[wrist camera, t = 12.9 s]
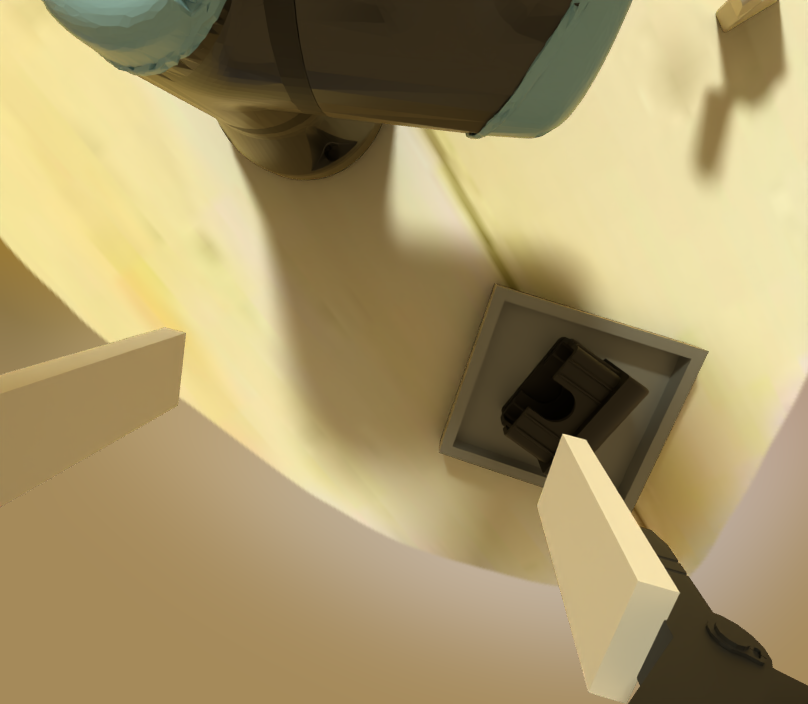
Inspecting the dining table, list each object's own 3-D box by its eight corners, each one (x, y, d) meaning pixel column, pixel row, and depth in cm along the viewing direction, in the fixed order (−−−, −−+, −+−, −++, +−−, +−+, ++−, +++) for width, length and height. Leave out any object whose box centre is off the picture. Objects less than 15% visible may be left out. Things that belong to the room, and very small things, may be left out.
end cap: (556, 459, 42) (574, 496, 36) (495, 415, 42) (501, 444, 36) (630, 376, 40) (663, 400, 33) (565, 329, 40) (586, 344, 33)
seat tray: (440, 441, 44) (438, 452, 42) (494, 283, 41) (497, 285, 38) (619, 501, 43) (629, 516, 41) (692, 345, 40) (708, 351, 37)
